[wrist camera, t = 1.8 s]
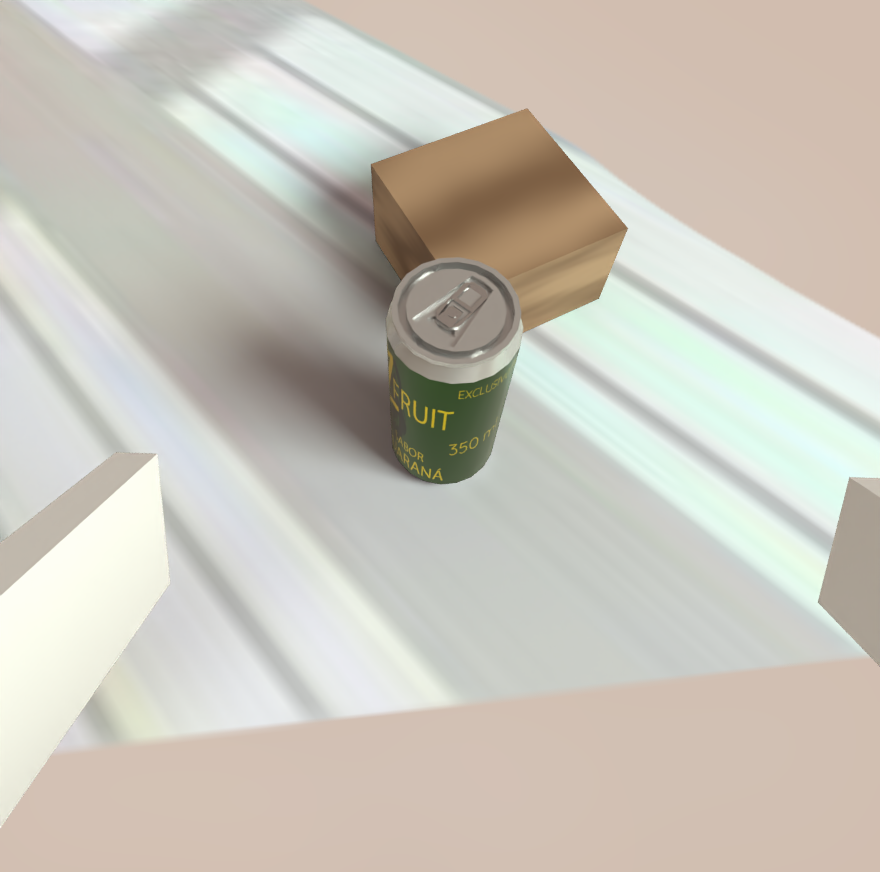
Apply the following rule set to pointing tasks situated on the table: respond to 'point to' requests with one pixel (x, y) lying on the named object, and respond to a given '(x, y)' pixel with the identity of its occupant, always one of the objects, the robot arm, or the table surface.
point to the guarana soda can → (450, 365)
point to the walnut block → (500, 213)
